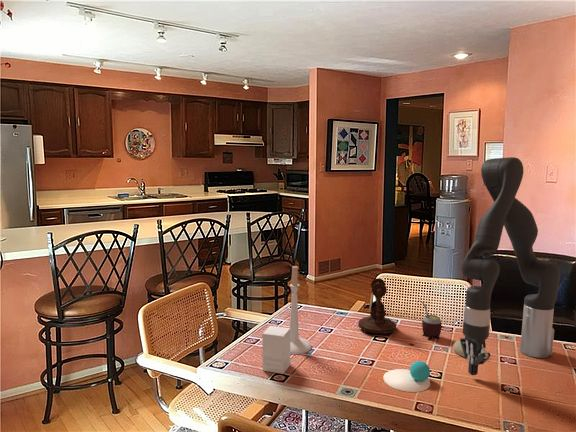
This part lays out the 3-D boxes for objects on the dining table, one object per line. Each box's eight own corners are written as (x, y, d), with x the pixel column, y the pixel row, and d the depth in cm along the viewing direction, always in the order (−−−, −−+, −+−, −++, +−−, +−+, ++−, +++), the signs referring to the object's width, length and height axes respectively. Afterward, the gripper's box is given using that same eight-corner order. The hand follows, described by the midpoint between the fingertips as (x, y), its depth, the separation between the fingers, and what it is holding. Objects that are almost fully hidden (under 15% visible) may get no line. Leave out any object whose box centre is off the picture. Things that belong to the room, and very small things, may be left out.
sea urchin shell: (487, 355, 158) (470, 338, 158) (468, 369, 160) (452, 352, 160) (481, 344, 167) (465, 328, 167) (464, 357, 169) (448, 341, 169)
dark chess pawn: (357, 321, 192) (359, 274, 190) (394, 324, 190) (396, 276, 188) (358, 335, 178) (360, 285, 175) (397, 338, 176) (400, 287, 173)
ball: (422, 374, 147) (425, 357, 146) (432, 384, 142) (434, 366, 141) (405, 375, 146) (407, 357, 145) (414, 385, 140) (416, 366, 139)
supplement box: (290, 364, 153) (291, 328, 151) (283, 374, 146) (283, 336, 144) (270, 361, 155) (270, 324, 154) (261, 370, 149) (261, 333, 147)
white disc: (416, 368, 152) (416, 367, 152) (438, 389, 138) (438, 389, 138) (376, 371, 149) (376, 371, 149) (395, 394, 135) (395, 393, 135)
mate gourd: (442, 336, 178) (445, 298, 176) (437, 343, 172) (439, 304, 170) (423, 332, 182) (425, 295, 180) (417, 338, 176) (419, 300, 173)
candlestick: (270, 350, 164) (270, 267, 159) (284, 337, 175) (285, 259, 171) (304, 356, 159) (305, 271, 155) (316, 342, 171) (318, 263, 166)
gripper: (501, 328, 137) (496, 383, 139) (474, 312, 150) (471, 363, 152) (478, 329, 135) (474, 385, 138) (453, 314, 148) (450, 365, 151)
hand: (472, 373), depth 145 cm, fingers closed
